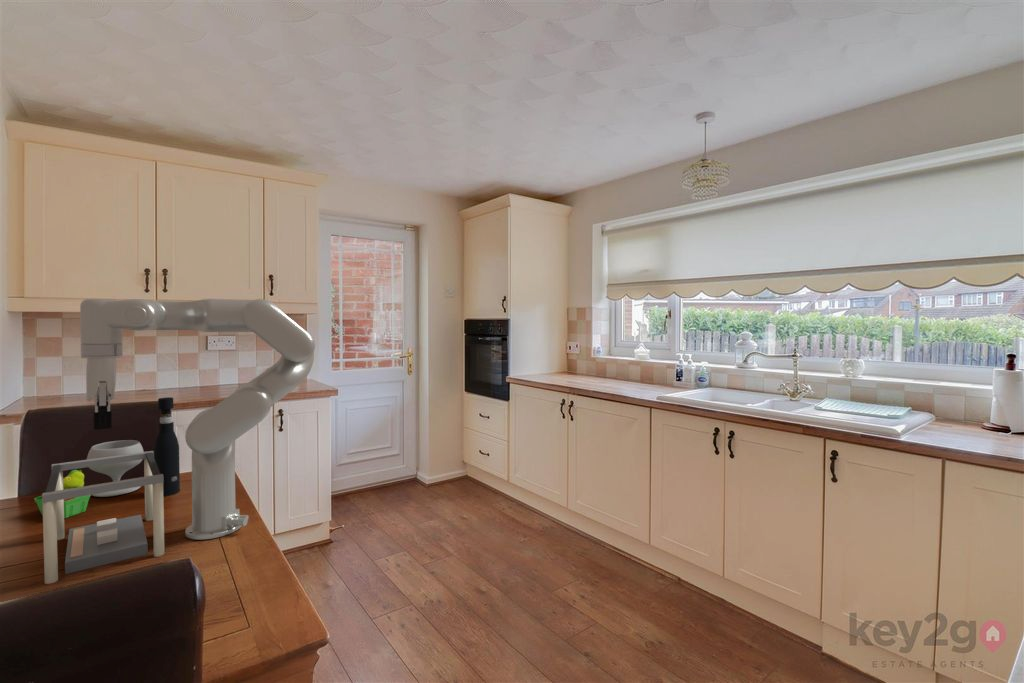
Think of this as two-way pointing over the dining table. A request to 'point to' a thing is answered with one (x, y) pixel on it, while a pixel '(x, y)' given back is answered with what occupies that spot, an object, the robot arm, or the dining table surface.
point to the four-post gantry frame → (84, 538)
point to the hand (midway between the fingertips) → (102, 428)
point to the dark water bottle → (167, 449)
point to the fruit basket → (71, 504)
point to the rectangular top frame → (104, 487)
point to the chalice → (117, 468)
